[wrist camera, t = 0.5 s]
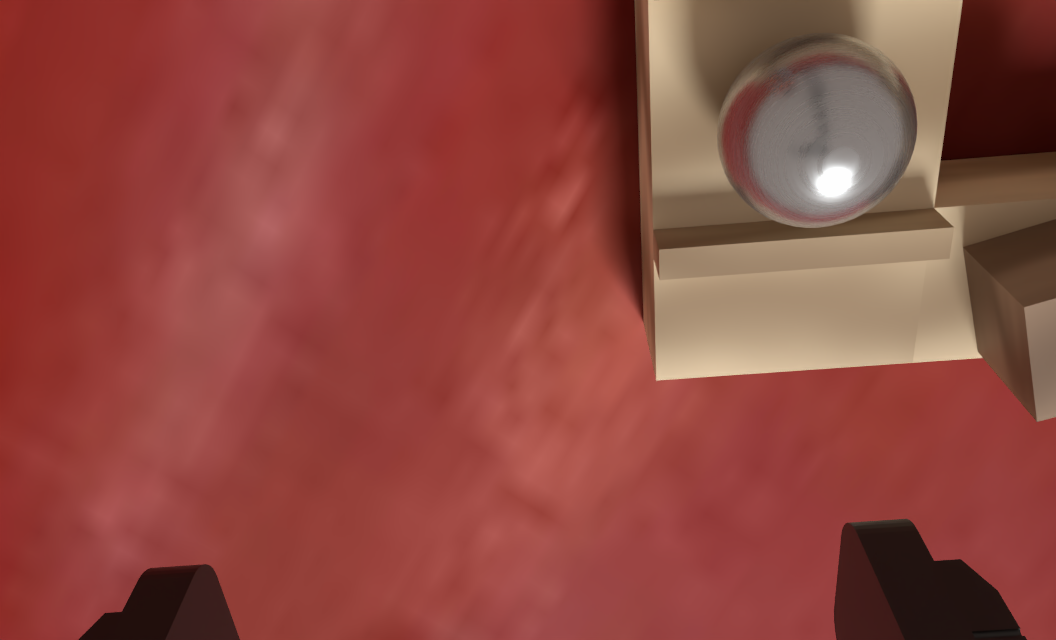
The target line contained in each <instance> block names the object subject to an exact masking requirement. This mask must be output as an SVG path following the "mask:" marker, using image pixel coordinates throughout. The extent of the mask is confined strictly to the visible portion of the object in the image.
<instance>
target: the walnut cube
mask: <svg viewBox="0 0 1056 640" xmlns="http://www.w3.org/2000/svg"><path fill="white" fill-rule="evenodd" d="M963 253H964V260H965V267H966V273H967V280H968V287H969V294H970V301H971V308H972V315H973V322H974V329H975V336H976V343H977V350H978V353H979V354H980V355H981V356H982V357H983V358H984V360H985V361H986V362H987V363H988V364H989V366H990V367H991V368H992V369H993V370H994V371H995V373H996V374H997V375H998V376H999V377H1000V379H1001V380H1002V381H1003V382H1004V383H1005V384H1006V386H1007V387H1008V388H1009V389H1010V390H1011V392H1012V393H1013V394H1014V395H1015V396H1016V397H1017V399H1018V400H1019V401H1020V402H1021V403H1022V405H1023V406H1024V407H1025V408H1026V409H1027V410H1028V412H1029V413H1030V414H1031V415H1032V416H1033V418H1034V419H1035V420H1036V421H1037V422H1038V421H1042V420H1046V419H1049V418H1053V417H1056V219H1054V220H1051V221H1047V222H1044V223H1041V224H1038V225H1034V226H1031V227H1028V228H1024V229H1021V230H1018V231H1014V232H1011V233H1008V234H1005V235H1001V236H998V237H995V238H991V239H988V240H985V241H981V242H978V243H975V244H972V245H968V246H965V247H963Z"/></svg>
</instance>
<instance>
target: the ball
mask: <svg viewBox="0 0 1056 640" xmlns="http://www.w3.org/2000/svg"><path fill="white" fill-rule="evenodd" d="M916 138H917V112H916V105H915V101H914V97H913V94H912V92H911V89H910V87H909V85H908V83H907V81H906V79H905V77H904V76H903V74H902V72H901V71H900V70H899V68H898V67H897V66H896V65H895V64H894V62H893V61H891V60H890V59H889V58H888V57H887V56H886V55H885V54H884V53H882V52H881V51H880V50H879V49H877V48H875V47H874V46H872V45H871V44H868V43H866V42H864V41H861V40H859V39H857V38H854V37H851V36H847V35H843V34H835V33H811V34H804V35H799V36H796V37H792V38H789V39H786V40H784V41H782V42H779V43H777V44H775V45H773V46H772V47H770V48H768V49H766V50H765V51H763V52H762V53H761V54H759V55H758V56H757V57H755V58H754V59H753V60H752V61H751V62H750V63H749V64H748V65H747V66H746V67H745V68H744V69H743V70H742V71H741V72H740V74H739V75H738V76H737V77H736V79H735V81H734V82H733V84H732V85H731V87H730V88H729V90H728V92H727V94H726V96H725V99H724V101H723V104H722V107H721V110H720V115H719V120H718V129H717V146H718V153H719V158H720V161H721V164H722V167H723V170H724V173H725V175H726V177H727V179H728V181H729V183H730V184H731V186H732V187H733V189H734V190H735V191H736V193H737V194H738V195H739V196H740V197H741V198H742V199H743V201H744V202H745V203H746V204H747V205H749V206H750V207H751V208H753V209H754V210H755V211H757V212H758V213H760V214H762V215H763V216H765V217H767V218H769V219H771V220H774V221H776V222H779V223H782V224H786V225H790V226H795V227H804V228H819V227H827V226H832V225H836V224H840V223H844V222H847V221H849V220H852V219H854V218H856V217H858V216H860V215H862V214H864V213H866V212H867V211H869V210H870V209H872V208H874V207H875V206H876V205H877V204H879V203H880V202H881V201H882V200H883V199H884V198H885V197H886V196H887V195H888V194H889V193H890V192H891V191H892V190H893V189H894V187H895V186H896V185H897V184H898V182H899V181H900V179H901V178H902V176H903V174H904V173H905V171H906V169H907V167H908V164H909V162H910V160H911V157H912V154H913V151H914V148H915V143H916Z"/></svg>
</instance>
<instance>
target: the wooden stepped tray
mask: <svg viewBox="0 0 1056 640" xmlns="http://www.w3.org/2000/svg"><path fill="white" fill-rule="evenodd" d="M962 2H963V0H635V35H636V70H637V106H638V142H639V177H640V213H641V248H642V284H643V320H644V327H645V332H646V336H647V341H648V345H649V350H650V354H651V359H652V363H653V368H654V372H655V377H656V380H668V379H683V378H697V377H712V376H726V375H741V374H755V373H770V372H784V371H799V370H813V369H828V368H842V367H857V366H871V365H886V364H900V363H915V362H929V361H944V360H958V359H973V358H983V357H982V356H981V355H980V354H979V353H978V350H977V343H976V336H975V329H974V322H973V315H972V308H971V301H970V294H969V287H968V280H967V273H966V267H965V260H964V253H963V247H965V246H968V245H972V244H975V243H978V242H981V241H985V240H988V239H991V238H995V237H998V236H1001V235H1005V234H1008V233H1011V232H1014V231H1018V230H1021V229H1024V228H1028V227H1031V226H1034V225H1038V224H1041V223H1044V222H1047V221H1051V220H1054V219H1056V152H1045V153H1032V154H1019V155H1007V156H994V157H981V158H969V159H956V160H943V161H941V154H942V147H943V139H944V132H945V125H946V118H947V110H948V103H949V96H950V89H951V81H952V74H953V67H954V60H955V52H956V45H957V38H958V31H959V23H960V16H961V9H962ZM811 33H835V34H843V35H847V36H851V37H854V38H857V39H859V40H861V41H864V42H866V43H868V44H871V45H872V46H874V47H875V48H877V49H879V50H880V51H881V52H882V53H884V54H885V55H886V56H887V57H888V58H889V59H890V60H891V61H893V62H894V64H895V65H896V66H897V67H898V68H899V70H900V71H901V72H902V74H903V76H904V77H905V79H906V81H907V83H908V85H909V87H910V89H911V92H912V94H913V97H914V101H915V105H916V112H917V138H916V143H915V148H914V151H913V154H912V157H911V160H910V162H909V164H908V167H907V169H906V171H905V173H904V174H903V176H902V178H901V179H900V181H899V182H898V184H897V185H896V186H895V187H894V189H893V190H892V191H891V192H890V193H889V194H888V195H887V196H886V197H885V198H884V199H883V200H882V201H881V202H880V203H879V204H877V205H876V206H875V207H874V208H872V209H870V210H869V211H867V212H866V213H864V214H862V215H860V216H858V217H856V218H854V219H852V220H849V221H847V222H844V223H840V224H836V225H832V226H827V227H819V228H804V227H795V226H790V225H786V224H782V223H779V222H776V221H774V220H771V219H769V218H767V217H765V216H763V215H762V214H760V213H758V212H757V211H755V210H754V209H753V208H751V207H750V206H749V205H747V204H746V203H745V202H744V201H743V199H742V198H741V197H740V196H739V195H738V194H737V193H736V191H735V190H734V189H733V187H732V186H731V184H730V183H729V181H728V179H727V177H726V175H725V173H724V170H723V167H722V164H721V161H720V158H719V153H718V146H717V129H718V120H719V115H720V110H721V107H722V104H723V101H724V99H725V96H726V94H727V92H728V90H729V88H730V87H731V85H732V84H733V82H734V81H735V79H736V77H737V76H738V75H739V74H740V72H741V71H742V70H743V69H744V68H745V67H746V66H747V65H748V64H749V63H750V62H751V61H752V60H753V59H754V58H755V57H757V56H758V55H759V54H761V53H762V52H763V51H765V50H766V49H768V48H770V47H772V46H773V45H775V44H777V43H779V42H782V41H784V40H786V39H789V38H792V37H796V36H799V35H804V34H811Z"/></svg>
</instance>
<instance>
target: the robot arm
mask: <svg viewBox="0 0 1056 640" xmlns="http://www.w3.org/2000/svg"><path fill="white" fill-rule="evenodd" d="M834 622H835V632H836V639H837V640H1027V639H1026V637H1025V636H1022V635H1021V633H1020V627H1019V626H1018V624H1017V622H1016V621H1015V619H1014V617H1013V616H1012V614H1011V612H1010V611H1009V609H1008V607H1007V605H1006V604H1005V602H1004V600H1003V599H1002V597H1001V595H1000V594H999V592H998V591H997V590H996V589H995V588H994V587H993V586H992V585H990V584H989V583H988V582H987V581H986V580H984V579H983V578H982V577H981V576H980V575H979V574H977V573H976V572H975V571H974V570H973V569H971V568H970V567H969V566H968V565H967V564H966V563H964V562H963V561H962V560H961V559H958V560H943V561H934V560H933V558H932V556H931V555H930V553H929V551H928V549H927V547H926V545H925V543H924V541H923V540H922V538H921V536H920V534H919V532H918V530H917V529H916V527H915V525H914V524H913V523H912V522H911V521H910V520H908V519H897V520H883V521H868V522H853V523H846V524H845V525H844V527H843V530H842V535H841V545H840V555H839V565H838V575H837V585H836V596H835V606H834ZM79 640H240V639H239V636H238V633H237V631H236V628H235V625H234V622H233V619H232V617H231V614H230V611H229V608H228V606H227V603H226V600H225V597H224V594H223V592H222V589H221V586H220V583H219V581H218V578H217V575H216V573H215V571H214V570H213V568H212V567H211V566H209V565H206V564H204V565H189V566H175V567H160V568H150V569H147V570H146V571H145V572H144V573H143V574H142V575H141V577H140V578H139V580H138V582H137V584H136V586H135V588H134V590H133V591H132V593H131V595H130V597H129V599H128V601H127V603H126V605H125V607H124V609H123V611H122V612H114V613H105V614H104V615H103V616H102V617H101V618H100V619H99V620H98V621H97V622H96V623H95V624H94V625H93V626H92V627H91V628H90V629H89V630H88V631H87V632H86V633H85V634H84V635H83V636H82V637H81V638H80V639H79Z"/></svg>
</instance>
